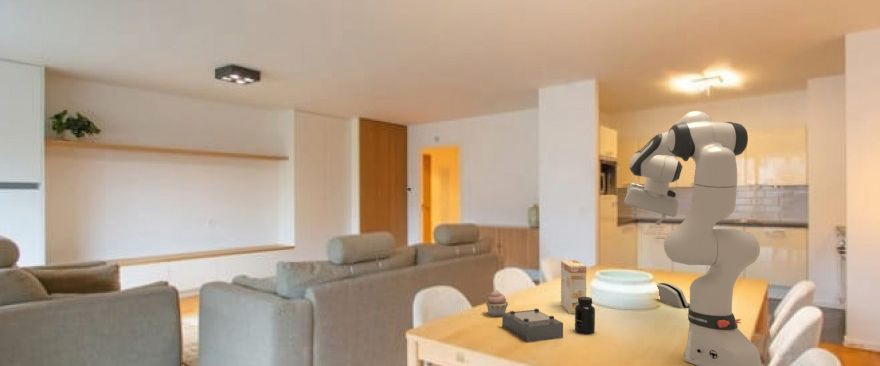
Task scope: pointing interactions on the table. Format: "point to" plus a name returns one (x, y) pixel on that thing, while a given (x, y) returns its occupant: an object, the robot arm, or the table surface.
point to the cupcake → (496, 304)
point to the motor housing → (532, 325)
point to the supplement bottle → (585, 316)
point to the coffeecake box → (572, 283)
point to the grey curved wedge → (672, 295)
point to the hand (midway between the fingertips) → (645, 221)
